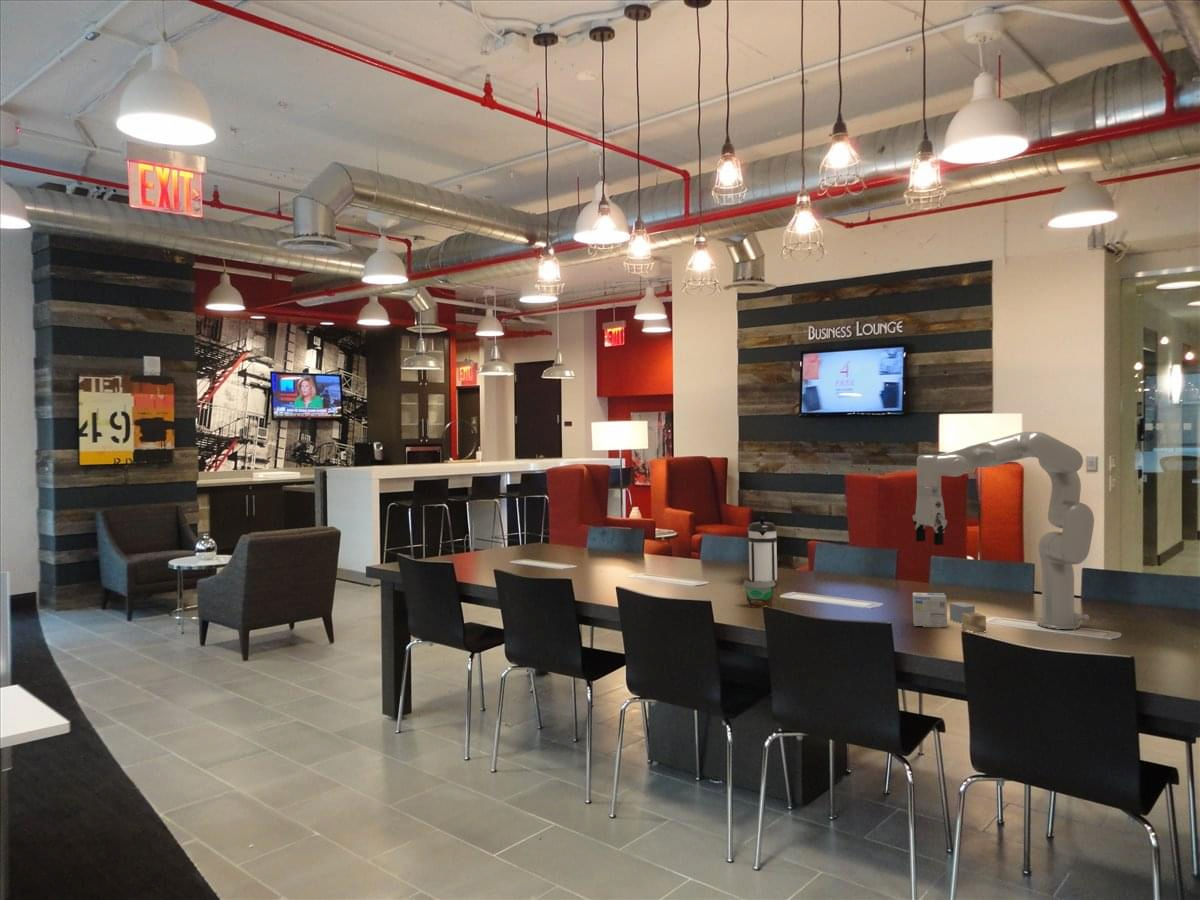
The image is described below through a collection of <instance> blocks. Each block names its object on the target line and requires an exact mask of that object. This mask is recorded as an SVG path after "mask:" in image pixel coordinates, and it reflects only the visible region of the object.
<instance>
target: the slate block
mask: <svg viewBox="0 0 1200 900" xmlns="http://www.w3.org/2000/svg"><path fill="white" fill-rule="evenodd" d="M975 610H976V609H975V605H972V604H968V603H965V602H959V601H958V602H950V603H949V620H950V621H951V620H953V621H952V622H955V621H956V623H958V622H959V624H961V623H962V613H976V612H975Z"/></svg>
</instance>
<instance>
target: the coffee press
mask: <svg viewBox="0 0 1200 900" xmlns="http://www.w3.org/2000/svg"><path fill="white" fill-rule="evenodd" d="M765 520H766V518H765V517H764V516H760V517H759V521H756V522H752V523H750V524H749V525H748V527H747V531H748V536H747V540H748V566H749V567H748V569H749V571H748V573H749V574H748V575H749V580H750V581H751V582H754V581H764V582H770V581H773V580H774V582H775V581H776V582H775V585H777V586H778V584H777V580H778V556H777V555H778V554H777V553H778V552H777V549H778V547H777V545H778V544H777V541H778V536H777V531H778V528H777V527H776V525H775V524H774V523H773V522H769V521H765Z"/></svg>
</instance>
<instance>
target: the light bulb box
mask: <svg viewBox="0 0 1200 900" xmlns="http://www.w3.org/2000/svg"><path fill="white" fill-rule="evenodd" d="M947 603H948V602H947V596H946V594H945V593H944V592H940V593H939V592H912V615H913V616H912V618H913V619H912V620H913V622H912V623H913V626H914V627H915V626H923V627H922V628H941V627H947V628H948V608H947V607H948V605H947Z"/></svg>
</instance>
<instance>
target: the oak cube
mask: <svg viewBox="0 0 1200 900" xmlns="http://www.w3.org/2000/svg"><path fill="white" fill-rule="evenodd" d="M961 630H963V631H965V630H969V631H973V632H984V631H986V632H987V617H986V615H984V614H983V613H980V612H975V613H962V624H961ZM984 633H985V632H984Z"/></svg>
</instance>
